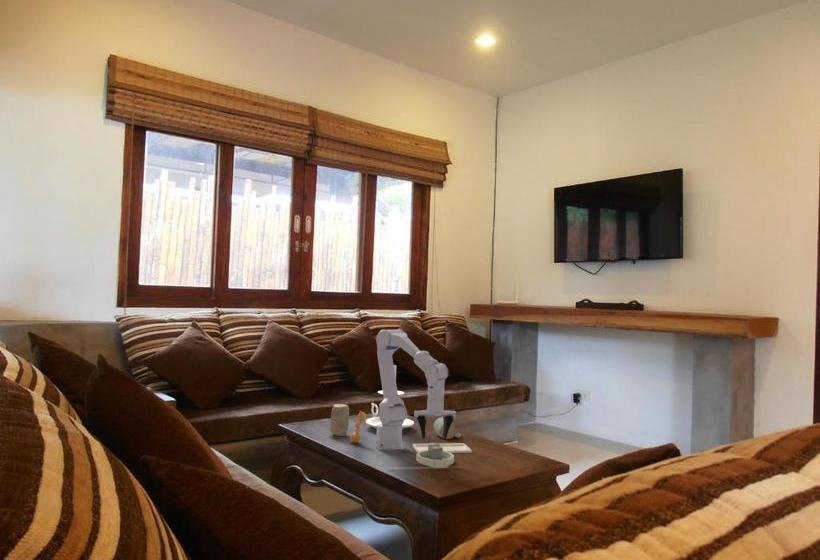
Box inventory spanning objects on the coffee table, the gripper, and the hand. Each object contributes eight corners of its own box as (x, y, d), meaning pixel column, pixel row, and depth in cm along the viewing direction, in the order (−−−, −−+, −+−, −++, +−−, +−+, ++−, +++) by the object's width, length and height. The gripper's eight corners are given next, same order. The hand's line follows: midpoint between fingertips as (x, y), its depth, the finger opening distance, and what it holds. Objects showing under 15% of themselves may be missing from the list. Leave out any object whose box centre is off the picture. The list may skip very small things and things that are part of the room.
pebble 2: (431, 464, 193) (432, 449, 193) (429, 460, 197) (430, 446, 197) (443, 464, 193) (444, 449, 193) (441, 460, 197) (441, 446, 197)
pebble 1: (428, 460, 197) (429, 445, 197) (426, 457, 201) (427, 442, 201) (440, 460, 198) (440, 445, 198) (437, 457, 202) (438, 442, 202)
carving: (350, 436, 228) (352, 406, 229) (332, 437, 225) (333, 407, 225) (345, 432, 234) (347, 403, 234) (328, 433, 231) (329, 403, 231)
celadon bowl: (420, 468, 190) (421, 460, 190) (413, 457, 202) (413, 450, 202) (457, 467, 192) (457, 459, 192) (447, 456, 204) (448, 449, 205)
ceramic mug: (440, 440, 227) (441, 421, 227) (432, 435, 234) (433, 416, 235) (464, 440, 230) (465, 421, 230) (456, 435, 238) (457, 416, 238)
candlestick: (389, 419, 260) (392, 358, 261) (423, 431, 241) (426, 365, 241) (351, 424, 248) (353, 360, 249) (383, 437, 228) (386, 367, 229)
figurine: (345, 441, 221) (346, 409, 221) (358, 439, 224) (360, 408, 224) (355, 446, 214) (357, 414, 214) (369, 444, 217) (371, 412, 218)
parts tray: (418, 455, 205) (418, 451, 205) (412, 447, 215) (412, 443, 215) (471, 454, 209) (471, 450, 209) (463, 446, 219) (463, 443, 219)
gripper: (417, 400, 195) (416, 440, 194) (458, 400, 197) (457, 440, 197) (413, 396, 201) (412, 435, 201) (453, 397, 204) (451, 435, 204)
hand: (434, 437), depth 200 cm, fingers open, 7 cm apart
